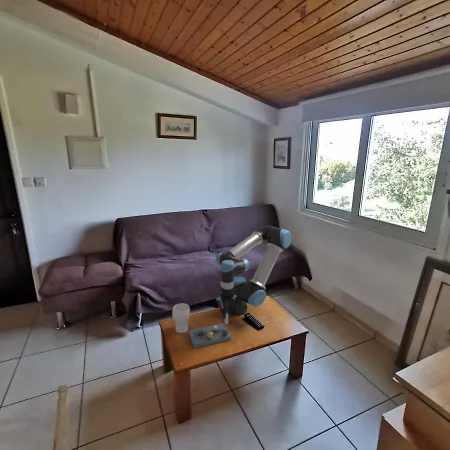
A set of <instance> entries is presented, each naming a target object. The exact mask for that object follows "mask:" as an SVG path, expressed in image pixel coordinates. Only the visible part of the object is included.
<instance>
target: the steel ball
mask: <svg viewBox="0 0 450 450" xmlns="http://www.w3.org/2000/svg"><path fill="white" fill-rule="evenodd" d="M214 325H215V326H213V325H212V326H213V330H214V331H218V326H217V324H214Z"/></svg>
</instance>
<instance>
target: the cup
mask: <svg viewBox="0 0 450 450" xmlns="http://www.w3.org/2000/svg"><path fill="white" fill-rule="evenodd" d="M171 315H172V318H173V320H174V321H175V332H176V333H178V334H185V333H186V332H188V331H189V325H188V321H189V319H190V317H191V316H190V315H191V309H190V305H188V304H187V303H181V302H180V303H177V304H174V306H173V307H172V313H171Z"/></svg>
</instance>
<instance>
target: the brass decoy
mask: <svg viewBox="0 0 450 450" xmlns="http://www.w3.org/2000/svg"><path fill="white" fill-rule="evenodd" d="M213 336H214V334H213V332H211V331H209V332H208V333H207V338H208V339H212V338H213Z"/></svg>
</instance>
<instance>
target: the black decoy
mask: <svg viewBox="0 0 450 450" xmlns="http://www.w3.org/2000/svg"><path fill="white" fill-rule="evenodd" d="M227 330H228V329H227ZM227 330H226V329H224V330H223V331H222V334H223V335H224V336H226V335H227V334H228V332H229V330H228V331H227Z"/></svg>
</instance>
